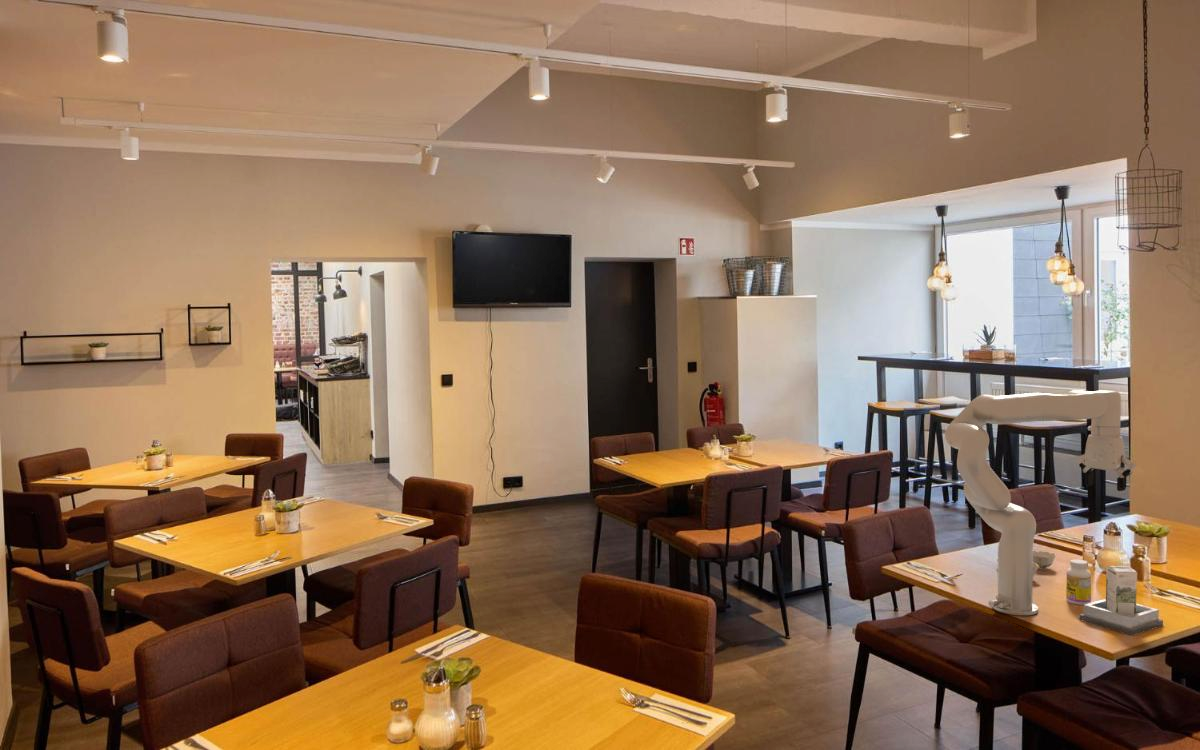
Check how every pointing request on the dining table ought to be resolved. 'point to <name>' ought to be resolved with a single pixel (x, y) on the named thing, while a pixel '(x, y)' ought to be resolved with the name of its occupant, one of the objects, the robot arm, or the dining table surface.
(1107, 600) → the syrup box
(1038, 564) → the chinaware
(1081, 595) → the supplement bottle
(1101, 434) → the robot arm
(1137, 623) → the pocket base
